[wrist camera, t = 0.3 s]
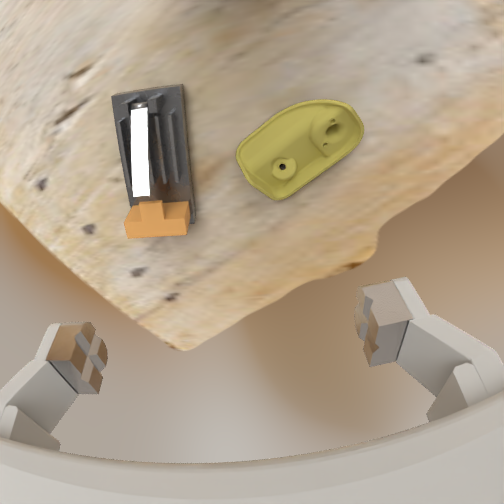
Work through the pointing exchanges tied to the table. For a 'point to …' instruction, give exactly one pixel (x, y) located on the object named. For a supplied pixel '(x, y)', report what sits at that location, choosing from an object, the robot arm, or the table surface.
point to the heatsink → (158, 144)
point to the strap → (140, 149)
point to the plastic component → (298, 145)
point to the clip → (157, 219)
